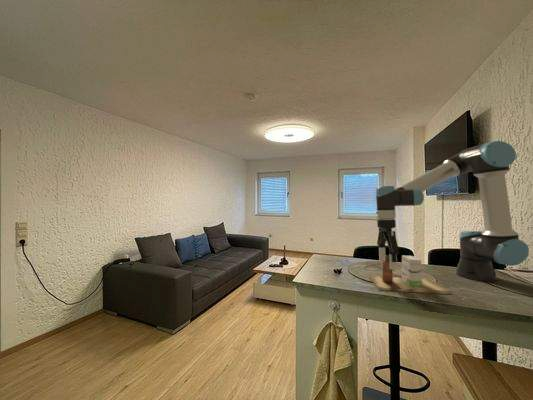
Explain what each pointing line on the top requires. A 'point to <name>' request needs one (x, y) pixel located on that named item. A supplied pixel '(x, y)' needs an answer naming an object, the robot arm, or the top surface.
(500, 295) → the top surface
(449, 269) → the top surface
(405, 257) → the ink box
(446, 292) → the panel
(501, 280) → the top surface
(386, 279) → the brown bottle
